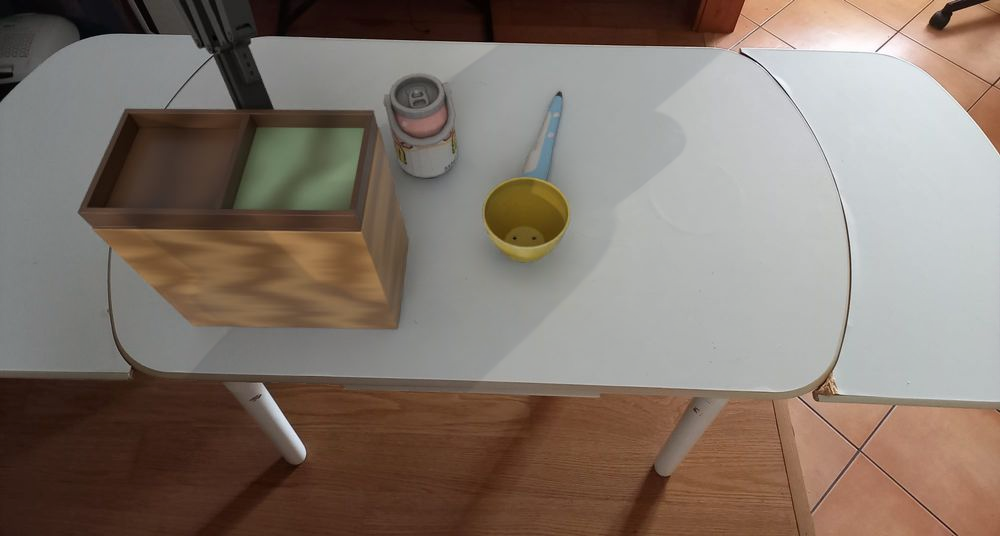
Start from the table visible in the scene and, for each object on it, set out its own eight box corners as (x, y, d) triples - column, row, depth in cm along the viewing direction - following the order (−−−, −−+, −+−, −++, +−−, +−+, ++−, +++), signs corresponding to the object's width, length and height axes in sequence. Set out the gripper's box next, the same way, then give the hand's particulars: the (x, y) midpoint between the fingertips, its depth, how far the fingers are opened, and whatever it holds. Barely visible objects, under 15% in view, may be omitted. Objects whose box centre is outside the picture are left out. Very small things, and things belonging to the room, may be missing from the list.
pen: (541, 200, 80) (542, 187, 77) (517, 196, 80) (517, 182, 78) (569, 96, 89) (571, 81, 87) (547, 93, 90) (549, 78, 87)
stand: (192, 326, 71) (91, 229, 54) (219, 237, 78) (137, 125, 60) (398, 329, 71) (362, 232, 54) (408, 239, 77) (379, 127, 60)
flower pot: (564, 211, 79) (568, 176, 73) (567, 280, 74) (572, 248, 68) (485, 211, 79) (483, 176, 73) (483, 280, 74) (481, 248, 68)
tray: (93, 228, 54) (76, 212, 52) (137, 125, 60) (124, 108, 58) (360, 231, 54) (354, 215, 52) (378, 127, 60) (373, 109, 58)
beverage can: (467, 180, 82) (460, 115, 71) (404, 194, 81) (389, 130, 70) (451, 130, 86) (443, 62, 76) (392, 142, 85) (376, 75, 75)
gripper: (220, -192, 48) (326, 103, 59) (156, -142, 57) (258, 106, 68) (124, -188, 44) (258, 130, 55) (71, -135, 53) (195, 129, 64)
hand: (258, 116), depth 61 cm, fingers closed
